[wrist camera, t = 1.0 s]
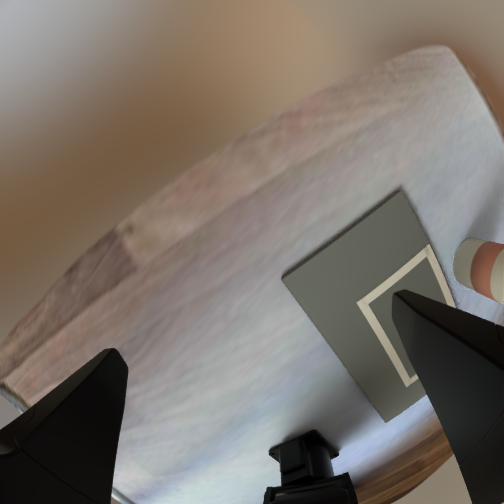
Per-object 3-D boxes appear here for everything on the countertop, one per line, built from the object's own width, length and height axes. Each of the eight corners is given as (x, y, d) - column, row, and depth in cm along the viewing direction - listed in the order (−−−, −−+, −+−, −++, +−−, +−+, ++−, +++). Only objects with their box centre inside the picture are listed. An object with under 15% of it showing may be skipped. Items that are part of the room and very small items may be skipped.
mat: (468, 353, 24) (471, 355, 23) (384, 419, 26) (385, 423, 25) (398, 190, 22) (401, 190, 21) (281, 278, 23) (281, 280, 23)
